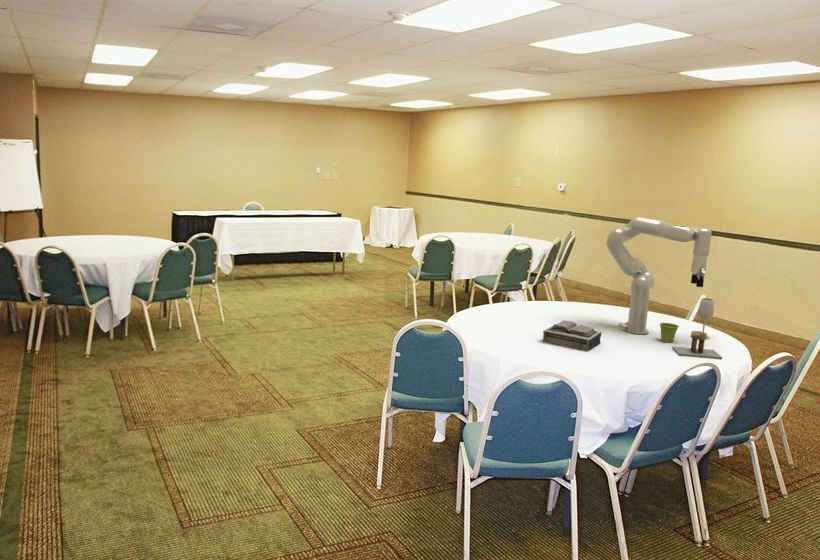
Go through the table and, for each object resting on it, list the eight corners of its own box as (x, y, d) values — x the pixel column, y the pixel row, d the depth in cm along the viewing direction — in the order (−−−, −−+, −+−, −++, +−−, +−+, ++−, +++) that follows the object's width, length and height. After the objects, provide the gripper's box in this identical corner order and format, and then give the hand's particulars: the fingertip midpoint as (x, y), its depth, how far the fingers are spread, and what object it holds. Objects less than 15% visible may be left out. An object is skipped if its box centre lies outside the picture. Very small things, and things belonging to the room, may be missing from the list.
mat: (678, 355, 319) (679, 353, 318) (672, 348, 331) (672, 346, 331) (721, 359, 316) (722, 357, 316) (713, 351, 329) (713, 349, 329)
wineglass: (711, 339, 353) (716, 301, 349) (696, 338, 354) (701, 300, 350) (708, 335, 360) (713, 298, 356) (693, 334, 361) (698, 297, 358)
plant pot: (676, 339, 348) (678, 324, 347) (677, 344, 339) (679, 328, 338) (657, 337, 351) (659, 321, 350) (658, 341, 342) (659, 325, 341)
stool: (691, 353, 321) (693, 334, 319) (687, 349, 327) (689, 330, 326) (706, 354, 320) (708, 335, 318) (702, 350, 327) (704, 331, 325)
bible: (560, 334, 350) (562, 316, 348) (607, 345, 332) (609, 326, 330) (536, 341, 334) (537, 322, 332) (583, 353, 315) (585, 334, 313)
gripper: (688, 250, 347) (684, 281, 350) (698, 254, 330) (693, 287, 333) (703, 250, 346) (699, 282, 349) (713, 255, 329) (709, 288, 332)
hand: (696, 285), depth 341 cm, fingers open, 9 cm apart
